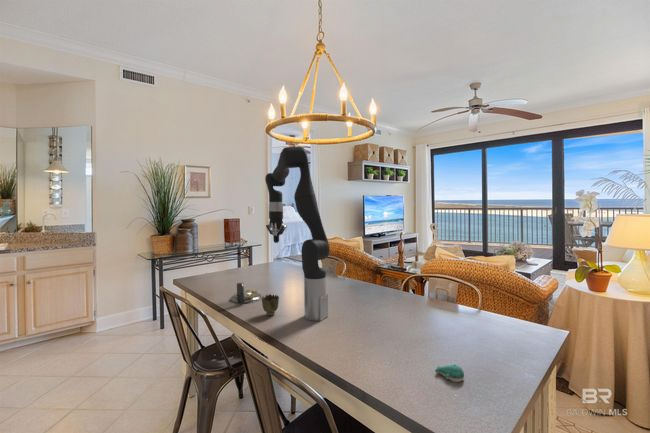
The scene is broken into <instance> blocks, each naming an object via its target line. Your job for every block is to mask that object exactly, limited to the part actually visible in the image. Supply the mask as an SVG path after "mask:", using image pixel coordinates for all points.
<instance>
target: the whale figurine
mask: <svg viewBox="0 0 650 433" xmlns="http://www.w3.org/2000/svg"><path fill="white" fill-rule="evenodd" d="M463 370H464V369H463V368H462V367H461V366H460V365H458V364H456V363H455V364H449V365H445V366H441V365H438V366H437V367H436V369H435V370H434V372H435V373H436V374H441V375H442V376H443V377H444V378H445V379H447V380H449V381H451V382H453V383H460V382H461V381H463V380H464V378H465V373H464V371H463Z"/></svg>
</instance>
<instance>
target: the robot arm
mask: <svg viewBox="0 0 650 433" xmlns="http://www.w3.org/2000/svg"><path fill="white" fill-rule="evenodd" d="M295 168H299V172H300V177H299V181H298V184H297V185H296V186H297V187H296V189H295V191H294V195H293V196H294V198H293V199H294V204H295V208H296V211H297V214H298V215H299V217H300V219H301V220H303V222H304V223H305V225H306V226H307V228H308V229H309V231H310V235H311V239H307V240H304V242H303V243H302V245H301V266H302V271H303V276H304V277H303V280H304V284H303V285H304V287H303V288H304V289H303V290H304V292H303V293H304V294H303V295H304V296H303V297H304V299H303V300H304V303H303V304H304V318H305V319H306V320H309V321H320V322H321V321H323V320H324V319H327V318H328V317H329V295H328V293H327V271H326V269H325V268H322V267H320V266H319V261H322V260H325V259H327V258H328V257H329V256H330V251H331V249H330V244H329V241H328V238H327V237H328V236H327V234H326V231H325V228H324V225H323V222H322V218H321V216H320V215H321V214H320V210H319V206H318V201H317V197H316V194H315V190H314V185H313V182H312V181H313V180H312V177H311V171H310V165H309V158H308V154H307V150H306V148H305V147H304V146H298V145H297V146H286V147H284V148H282V150H281V152H280V154H279V159H278V160H277V165H276V167H275V168H274V170H273V172H269V173H267V174H266V175H265V179H264V180H265V185H266V187H267V191H268V219H269V222H268V224H266V225H265V227H266V229H267V231H268V232H269V234H270V235H271V236H273V238H272V239H273V243H274V244H277V243H279V242H280V235H281V236H282V235H283V233H284V232H285V231H286V228H287V225H286V224H284V221H283V219H284V204H283V193H282V191H280V190H276V189H275V188H274V187H283V186H285V185H286V179H287V177H288V176H289V175H290V169H295Z"/></svg>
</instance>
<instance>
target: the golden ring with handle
mask: <svg viewBox="0 0 650 433" xmlns="http://www.w3.org/2000/svg"><path fill="white" fill-rule="evenodd" d="M244 284H245V283H244V282H237V283H236V292H235V293H234V294H233V295H234V297H235V298H236V299H237V303H236V304H245V303H244V300H245V299H251V298H254V297H257V296H258V293H259V292H258V291H257V290H251V289H246V290H245V288H244V287H245V285H244ZM244 291H250V292H252V294H250V295H249V296H246V295H244Z"/></svg>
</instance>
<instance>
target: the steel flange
mask: <svg viewBox="0 0 650 433" xmlns="http://www.w3.org/2000/svg"><path fill="white" fill-rule="evenodd" d="M257 293H258V296H257V297H254V298H251V299H245V300H244V303H243V304H249V303H248V302H252V303H254V302H253V301H256V300H258V299H260V298H261V299H262V294H261V293H259V292H257ZM250 294H252V292H250V291H246V290H244V295H246V296H249V295H250ZM261 299H260V300H261ZM258 301H259V300H258ZM230 302H232V303H234V302H235V304H238V303H237V299H236V298H235V297H234V294H233V295H231V296H230ZM256 302H257V301H256Z"/></svg>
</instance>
